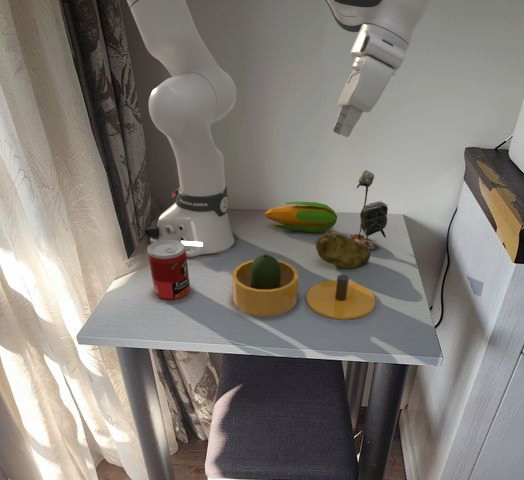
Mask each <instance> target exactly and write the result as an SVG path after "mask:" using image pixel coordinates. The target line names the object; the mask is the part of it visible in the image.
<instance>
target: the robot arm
mask: <svg viewBox="0 0 524 480" xmlns="http://www.w3.org/2000/svg"><path fill="white" fill-rule="evenodd" d="M324 1H325V2H326V4H327V6H328V7H329V9H330V12H331V14H332V16H333V18H334V20H335V22H336V24H337V25H338V26H339V27H340V28H341V29H343V30H344V31H347V32H350V33H357V35H356V38H355V40H354V43H353V44H352V46H351V49H350V51H349V55H350V56H351V57H352V58H353V59H354V60H353V62H352V64H351V69H352V71H351V73H350V75H349V76H348V78H347V81H346V82H345V84H344V86H343V89H342V91H341V93H340V96H339V98H338V101H337V106H338V107H340V109H339V111H338V115H337V117H336V121H335V123H334V126H333V128H332V131H333V133H335V134H337V135H341V136H343V137H345V138H349V137H350V136H351V134H352V131H353V129H354V128H355V126H356V125H357V123H358V122H359V121H360V119H361V117H362V114H363V113H370V112H372V110H373V109H374V108H375V106H376V105H377V103H378V101H379V100H380V97H381V96H382V94H383V93H384V91H385V89H386V88H387V85H388V84H389V82H390V80H391V78H392V77H394V76H395V75H396V73H397V71H398V70H399V69H400V68H401V66H402V64H403V62H404V60H405V54H406V52H407V50H408V48H409V46H410V45H411V44H410V43H411V40H412V36H413V33H414V31H415V29H416V27H417V26H418V25H419V23H420V22H421V21H422V19H424V15H425V13H426V11H427V9H428V8H429V5H430V3H431V1H432V0H324ZM126 2H127V5H128V7H129V9H130V12H131V14H132V17H133V19H134V21H135V25H136V27H137V29H138V32H139V34H140V36H141V39H142V41H143V44H144V47H145V48H146V50H147V51H148V53H149V54H150V55H151V56H152V57H153V58H155V60H157V61H158V62H159V63H161V65H163V66H164V68H165V69H166V70H167V72H168V73H169V74H170V76H171V77H168V78H166V79H165V80H164V81H162V82H161V83H160V84H158V85H157V86H156V87H155V88H154V89H152V91H151V93H150V95H149V97H148V113H149V117H150V119H151V121H152V123H153V125H154V126H155V127H156V128H157V130H158V131H159V132H161V133H163V135H164V136H166V138H167V139H168V142H169V144H170V146H171V148H172V151H173V155H174V157H175V162H176V167H177V174H178V183H179V187H178V188H176V189H175V191H173V192H171V195H172V196H171V198H173V199H174V198H175V197H176V198H175V202H174V203H173V204H171V205H170V206H169V207H168V208H167V209H166V210H165V211H163V212H162V213H161V214H160V216H159V217H158V220H152V222H151V224H150V225H149V227H146V228H145V229H144V233H145V235H146V236H147V237H148V238H150V239H149V240H150V241H149V242H150V244H152V243H154V242H156V241H160V240H176V241H180V242H182V243H183V244H184V246H185V250H186V258H192V257H197V256H200V255H209V254H210V255H211V254H216V253H220V252H223V251H225V250H228V249H229V248H231V247H232V246H233V245H234V243H235V237H234V235H233V231H232V227H231V224H230V223H231V222H230V219H229V196H228V187H227V186H226V175H225V159H224V154H223V152H222V151H221V150H220V149H219V148H218V147H217V146H216V144H215V141H214V139H213V136H212V131H211V127H212V124H215V123H217V122H220V121H221V120H223V119H224V118H226V116H227V115H229V114H230V112H231V111H232V110H233V108H234V107H235V105H236V102H237V95H238V94H237V88H236V87H237V86H236V84H235V82H234V80H233V78H232V77H231V75H229V73H227V72H226V71H225V70H223V69H222V68H221V67H220V65H219V64H218V62H217V61H216V60H215V58H214V57H213V55H212V54H211V52H210V50H209V49H208V47H207V46H206V44H205V42H204V40H203V39H202V37H201V35H200V33H199V31H198V29H197V27H196V24H195V22H194V19H193V16H192V14H191V12H190V8H189V6H188V3H187V1H186V0H126Z"/></svg>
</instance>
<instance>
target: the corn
mask: <svg viewBox="0 0 524 480" xmlns="http://www.w3.org/2000/svg"><path fill="white" fill-rule="evenodd" d="M285 205H286V206H285ZM285 205H284V206H278V207H274V208H270V209H268V210H266V212H264V215H265V217H266V218H267V219H268V220H270V221H273V222H275V223H277V224H274V225H273V227H274V228H278V229H281V230H285V231H292V232H302V233H303V232H305V233H322V232H325V231H328V230H330V229H331V228H332V227H334V226H335V225H336V223H337V221H338V215H337V213H336V211H335V210H334V209H333V208H332V207H330V206H329V205H327V204H324V203H321V202H316V201H297V200H296V201H286V202H285Z"/></svg>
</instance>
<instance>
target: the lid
mask: <svg viewBox="0 0 524 480" xmlns="http://www.w3.org/2000/svg"><path fill="white" fill-rule="evenodd" d="M305 299H306V304H307V305H308V307H309V308H310V309H311V310H312V311H313V312H314V313H316V314H318V315H320V316H323V317H325V318H327V319H328V318H329V319H334V320H339V321H345V320H347V321H348V320H350V321H351V320H356V319H361V318H363V317H366V316H367V315H369V314H370V313H371V312H372V311H374V309H375V307H376V297H375V296H374V294H373V292H372V291H370V289H368V288H367V287H365V286H363V285H361V284H359V283H356V282H352V281H350V277H349V276H348V275H346V274H339V275H337V277H336V280H328V281H327V280H326V281H322V282H319V283H317V284H315V285H313V286H312V287H310V289H308V291H307V293H306V297H305Z"/></svg>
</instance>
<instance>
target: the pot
mask: <svg viewBox="0 0 524 480" xmlns="http://www.w3.org/2000/svg"><path fill="white" fill-rule="evenodd" d="M276 260H277V261H278V263H279V265H280V288H276V289H271V290H264V289H254V288H251V277H250V268H251V264H252V262H253V261H254V259H252V260H247V261H245V262H243V263H241V264H239V265H237V267H235V268H234V269H233V271H232V276H231V282H232V297H233V298H232V299H233V300H232V301H233V302H234V305H235V306H236V308H238V309H239V310H241V311H242V312H244V313H246V314H249V315H253V316H255V317H273V316H277V315H278V316H279V315H282V314H284V313H285V314H286V312H288V311H291V310H292V309H293V308H294V307H295V305H296V304H297V303H298V287H299V286H298V285H299V284H298V283H299V272H298V270H297V268H295V267H294V265H292V264H290V263H288V262H286V261H284V260H280V259H276Z"/></svg>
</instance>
